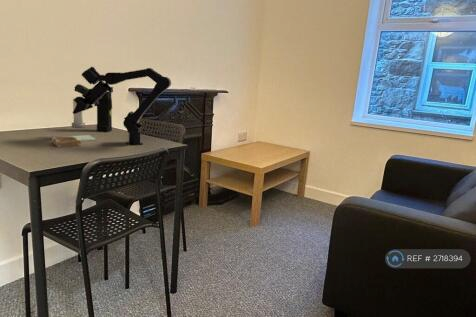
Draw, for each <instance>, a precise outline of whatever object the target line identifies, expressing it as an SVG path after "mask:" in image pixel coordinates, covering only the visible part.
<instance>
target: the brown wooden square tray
mask: <svg viewBox="0 0 476 317" xmlns="http://www.w3.org/2000/svg"><path fill="white" fill-rule="evenodd" d="M72 136H73V137H69V136H56V137H55V136H54V137H53V136H52V138H51V141H52V143H53V144H54V145H55V146H56V147H59V148H60V147H61V148H62V147H63V148H64V147H76V146H78V147H79V146H81V144H82V141H80V140H79V139H77V138H76V137H74V136H75V135H72Z"/></svg>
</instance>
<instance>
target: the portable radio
mask: <svg viewBox="0 0 476 317" xmlns="http://www.w3.org/2000/svg"><path fill="white" fill-rule="evenodd" d="M98 101H99V104H98V105H97V106H96V131H97V132H102V133H103V132H104V133H108V132H112V130H113V125H112V122H113V121H112V119H113V118H112V117H113V116H112V109H113V100H112V93H110V92H109V91H107V92H106V93H105V94H104V95H103V96H102V98H101V99H99V100H98Z"/></svg>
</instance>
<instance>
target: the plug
mask: <svg viewBox="0 0 476 317" xmlns="http://www.w3.org/2000/svg"><path fill="white" fill-rule="evenodd" d="M75 98H76V97H75ZM75 98H74V97H73V98H72V106H73V107H72V112H73V111H74V109H75V107H76V105H77V103H76V102H75V101H74V99H75ZM72 116H73V122H71V128H73V129H84V128H86V124H85V122H83V111H81V112H78V113H76V114H73V113H72Z"/></svg>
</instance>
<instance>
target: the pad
mask: <svg viewBox="0 0 476 317" xmlns="http://www.w3.org/2000/svg"><path fill="white" fill-rule="evenodd" d="M73 136H74V137H76V138H77V139H79V140H80V142H85V141H86V142H87V141H88V142H89V141H96V140H97V139H96V138H95V137H93V136H92V135H89V134H88V135H86V134H85V135H68V137H73Z"/></svg>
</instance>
